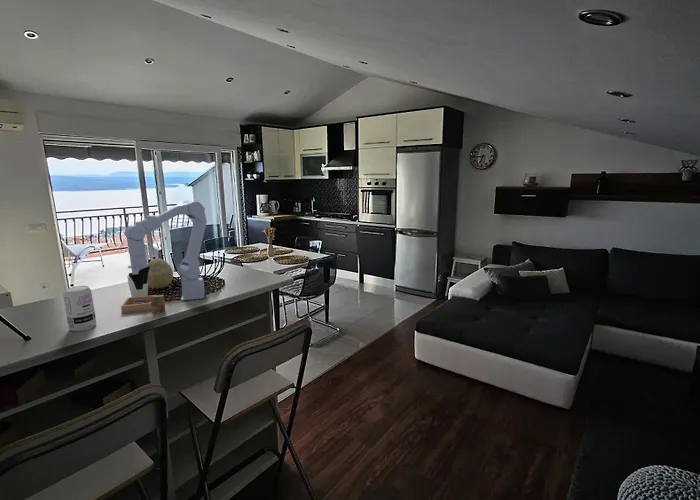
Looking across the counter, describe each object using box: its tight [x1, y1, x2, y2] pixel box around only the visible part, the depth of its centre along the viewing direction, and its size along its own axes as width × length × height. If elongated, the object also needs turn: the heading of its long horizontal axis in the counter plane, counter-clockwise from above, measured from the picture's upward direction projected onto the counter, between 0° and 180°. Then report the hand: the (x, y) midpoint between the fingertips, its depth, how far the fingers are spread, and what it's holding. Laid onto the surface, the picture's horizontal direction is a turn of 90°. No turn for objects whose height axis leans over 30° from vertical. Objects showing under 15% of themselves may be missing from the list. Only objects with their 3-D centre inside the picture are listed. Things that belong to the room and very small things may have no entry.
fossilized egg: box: [147, 257, 174, 290], centre depth 176 cm, size 13×13×15 cm
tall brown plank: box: [150, 294, 166, 315], centre depth 146 cm, size 4×2×7 cm, turn 109°
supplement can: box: [62, 285, 97, 332], centre depth 131 cm, size 8×8×15 cm
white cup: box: [126, 274, 149, 297], centre depth 165 cm, size 8×8×10 cm
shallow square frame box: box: [120, 294, 157, 314], centre depth 151 cm, size 11×11×3 cm
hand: (141, 286), depth 148 cm, fingers open, 7 cm apart
